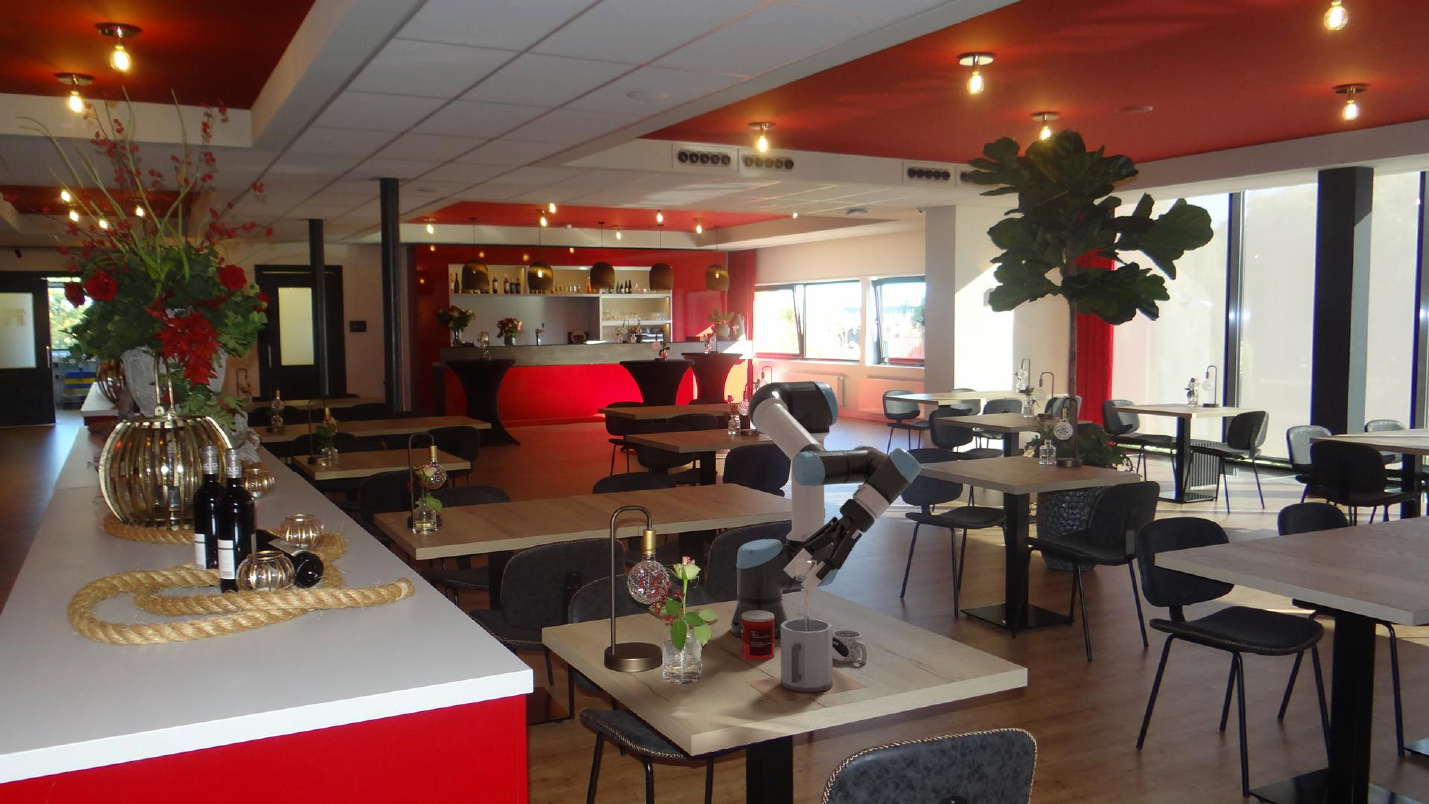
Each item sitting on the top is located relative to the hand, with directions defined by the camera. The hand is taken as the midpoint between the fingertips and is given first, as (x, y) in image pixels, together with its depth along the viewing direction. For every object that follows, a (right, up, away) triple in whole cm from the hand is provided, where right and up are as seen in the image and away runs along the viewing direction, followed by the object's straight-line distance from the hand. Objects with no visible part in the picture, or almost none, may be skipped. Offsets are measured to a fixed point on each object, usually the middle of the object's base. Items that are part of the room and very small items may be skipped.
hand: (796, 581), depth 214 cm
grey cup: (+2, -23, +1) cm, 23 cm away
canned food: (-7, -23, +22) cm, 33 cm away
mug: (+14, -23, +20) cm, 33 cm away
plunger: (+2, -14, +1) cm, 14 cm away
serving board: (+2, -24, +2) cm, 24 cm away
